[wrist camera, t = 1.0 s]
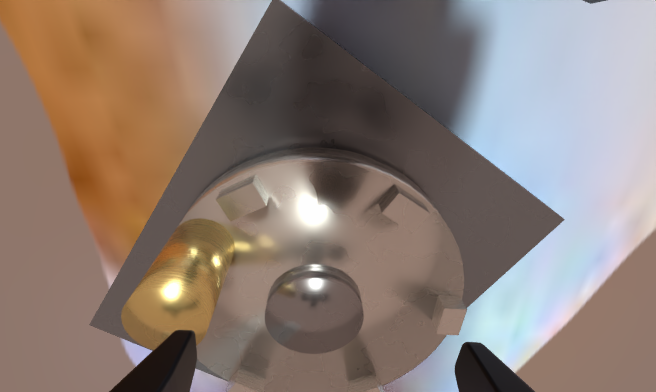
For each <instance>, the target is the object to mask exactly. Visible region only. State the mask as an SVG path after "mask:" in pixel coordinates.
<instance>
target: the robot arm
mask: <svg viewBox="0 0 656 392" xmlns="http://www.w3.org/2000/svg"><path fill="white" fill-rule="evenodd" d="M583 1H585V2H588V3H596V2H601V1H606V0H583ZM196 363H197V347H196V336H195V332H194V331H192V330H176V331H174V332H173V333H172V334H171V335H170V336H168V337H167V338H166V339H165V340H164V341H163V342H162V343H161V344H160V345H159V346H158V347H157V348H156V349H155V350H153V351H152V352H151V353H150V354H149V355H148V356H147V357H146V358H145V359H144V360H143V361H142V362H141V363H140V364H138V365H137V366H136V367H135V368H134V369H133V370H132V371H131V372H130V373H129V374H128V375H127V376H126V377H125V378H123V379H122V380H121V381H120V382H119V383H118V384H117V385H116V386H115V387H114V388H113V389H112V390H111V391H109V392H190V388H191V384H192V380H193V376H194V372H195V367H196ZM455 376H456V380H457V385H458V389H459V392H535V391H534V390H533V389H532V388H531V387H529V386H528V385H527V384H526V383H525V382H524V381H523V380H522V379H521V378H520V377H518V376H517V375H516V374H515V373H514V372H513V371H512V370H511V369H510V368H509V367H507V366H506V365H505V364H504V363H503V362H502V361H501V360H500V359H499V358H498V357H496V356H495V355H494V354H493V353H492V352H491V351H490V350H489V349H488V348H487V347H485V346H484V345H483V344H481V343H477V342H465V343H464V344H463V345H462V347H461V350H460V353H459V355H458V358H457V361H456V364H455Z"/></svg>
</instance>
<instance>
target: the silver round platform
mask: <svg viewBox="0 0 656 392" xmlns="http://www.w3.org/2000/svg"><path fill="white" fill-rule="evenodd" d="M463 288H464V271H463V262H462V258H461V255H460V251H459V247H458V245H457V243H456V241H455V239H454V236H453V234H452V232H451V230H450V229H449V227H448V226H447V224H446V223H445V221H444V220H443V218H442V217H441V215H440V213H439V212H438V210H437V209H436V207H435V206H434V205H433V203H432V202H431V200H430V199H429V197H428V196H427V195H426V194H425V193H424V192H423V191H422V190H421V189H420V188H419V187H418V186H417V185H416V184H415V183H414V182H412V181H411V180H410V179H409V178H407V177H406V176H405V175H404V174H402V173H401V172H399V171H397V170H396V169H394V168H392V167H390V166H389V165H387V164H385V163H383V162H380V161H378V160H376V159H373V158H371V157H368V156H365V155H362V154H358V153H354V152H351V151H346V150H339V149H332V148H310V147H305V148H296V149H287V150H281V151H277V152H273V153H269V154H265V155H262V156H259V157H256V158H254V159H251V160H249V161H246V162H244V163H242V164H240V165H238V166H236V167H235V168H233V169H231V170H229V171H227V172H226V173H225V174H223V175H222V176H221V177H219V178H218V179H217V180H215V181H214V182H213V183H211V184H210V185H209V186H208V187H207V188H206V189H205V190H204V191H203V192H202V193H201V194H200V195H199V196H198V198H197V199H196V200H195V202H194V203H193V205H192V206H191V207H190V209H189V210H188V212H187V213H186V215H185V216H184V218H183V219H182V221H181V222H180V224H179V225H178V226H177V228H176V229H175V231H174V232H173V234H172V235H171V237H170V238H169V240H168V241H167V243H166V244H165V246H164V247H163V249H162V250H161V252H160V253H159V255H158V256H157V258H156V259H155V261H154V262H153V264H152V265H151V267H150V268H149V270H148V271H147V273H146V274H145V276H144V277H143V278H142V280H141V281H140V283H139V284H138V286H137V287H136V289H135V290H134V292H133V293H132V295H131V296H130V298H129V299H128V301H127V302H126V304H125V305H124V307H123V309H122V313H121V319H122V324H123V327H124V329H125V330H126V332H127V333H128V334H129V336H130V337H131V338H132V339H134V340H135V341H136V342H138V343H139V344H141V345H142V346H144V347H147V348H149V349H152V350H155V349H156V348H157V347H158V346H159V345H160V344H161V343H162V342H163V341H164V340H165V339H166V338H167V337H168V336H170V335H171V334H172V333H173V332H174V331H176V330H192V331H194V332H195V336H196V347H197V360H198V361H199V362H201V363H202V364H203V365H205V366H206V367H207V368H209V369H210V370H211V371H213V372H214V373H216V374H218V375H219V376H221V377H223V378H224V379H226V380H228V381H229V382H228V386H227V390H226V392H384V391H383V385H385V384H387V383H389V382H391V381H393V380H395V379H397V378H399V377H401V376H403V375H404V374H406V373H407V372H409V371H411V370H412V369H414V368H415V367H416V366H417V365H419V364H420V363H421V362H423V361H424V360H425V359H426V358H427V357H428V356H429V355H430V354H431V353H432V352H433V351H434V350H435V349H436V348H437V347H438V346H439V344H440V343H441V342H442V341H443V339H444V338H445V337H446V335H459V332H460V329H461V326H462V323H463V320H464V317H465V314H466V311H467V309H466V307H465V305H464V303H463V301H462V296H463Z"/></svg>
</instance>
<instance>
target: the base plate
mask: <svg viewBox="0 0 656 392" xmlns="http://www.w3.org/2000/svg"><path fill="white" fill-rule="evenodd" d="M305 147H310V148H332V149H339V150H346V151H351V152H354V153H358V154H362V155H365V156H368V157H371V158H373V159H376V160H378V161H380V162H383V163H385V164H387V165H389V166H390V167H392V168H394V169H396V170H397V171H399V172H401V173H402V174H404V175H405V176H406V177H407V178H409V179H410V180H411V181H412V182H414V183H415V184H416V185H417V186H418V187H419V188H420V189H421V190H422V191H423V192H424V193H425V194H426V195H427V196H428V197H429V199H430V200H431V202H432V203H433V205H434V206H435V207H436V209H437V210H438V212H439V213H440V215H441V217H442V218H443V220H444V221H445V223H446V224H447V226H448V227H449V229H450V230H451V232H452V234H453V236H454V239H455V241H456V243H457V245H458V247H459V251H460V255H461V258H462V262H463V271H464V288H463V296H462V301H463V303H464V305H465V307H466V308H467V307H468V306H469V305H470V304H472V303H473V302H474V301H475V300H476V299H477V298H478V297H479V296H480V295H481V294H483V293H484V292H485V291H486V290H487V289H488V288H489V287H490V286H491V285H493V284H494V283H495V282H496V281H497V280H498V279H499V278H500V277H501V276H503V275H504V274H505V273H506V272H507V271H508V270H509V269H510V268H511V267H513V266H514V265H515V264H516V263H517V262H518V261H519V260H520V259H521V258H523V257H524V256H525V255H526V254H527V253H528V252H529V251H530V250H531V249H533V248H534V247H535V246H536V245H537V244H538V243H539V242H540V241H541V240H543V239H544V238H545V237H546V236H547V235H548V234H549V233H550V232H551V231H553V230H554V229H555V228H556V227H557V226H558V225H559V224H560V223H561V222H562V221H564V220H565V219H563V218H562V217H561V216H560V215H558V214H557V213H556V212H554V211H553V210H552V209H551V208H549V207H548V206H547V205H546V204H544V203H543V202H542V201H540V200H539V199H538V198H537V197H535V196H534V195H533V194H531V193H530V192H529V191H527V190H526V189H525V188H524V187H522V186H521V185H520V184H518V183H517V182H516V181H514V180H513V179H512V178H511V177H509V176H508V175H507V174H505V173H504V172H503V171H501V170H500V169H499V168H498V167H496V166H495V165H494V164H492V163H491V162H490V161H489V160H487V159H486V158H485V157H483V156H482V155H481V154H479V153H478V152H477V151H476V150H474V149H473V148H472V147H470V146H469V145H468V144H466V143H465V142H464V141H463V140H461V139H460V138H459V137H457V136H456V135H455V134H453V133H452V132H451V131H450V130H448V129H447V128H446V127H444V126H443V125H442V124H440V123H439V122H438V121H437V120H435V119H434V118H433V117H431V116H430V115H429V114H427V113H426V112H425V111H424V110H422V109H421V108H420V107H418V106H417V105H416V104H415V103H413V102H412V101H411V100H409V99H408V98H407V97H405V96H404V95H403V94H402V93H400V92H399V91H398V90H396V89H395V88H394V87H392V86H391V85H390V84H389V83H387V82H386V81H385V80H383V79H382V78H381V77H379V76H378V75H377V74H376V73H374V72H373V71H372V70H370V69H369V68H368V67H366V66H365V65H364V64H363V63H361V62H360V61H359V60H357V59H356V58H355V57H353V56H352V55H351V54H350V53H348V52H347V51H346V50H344V49H343V48H342V47H340V46H339V45H338V44H337V43H335V42H334V41H333V40H331V39H330V38H329V37H328V36H326V35H325V34H324V33H322V32H321V31H320V30H318V29H317V28H316V27H315V26H313V25H312V24H311V23H309V22H308V21H307V20H305V19H304V18H303V17H302V16H300V15H299V14H298V13H296V12H295V11H294V10H292V9H291V8H290V7H289V6H287V5H286V4H285V3H283V2H282V1H281V0H272V2H271V3H270V5H269V7H268V9H267V10H266V12H265V14H264V16H263V18H262V19H261V21H260V23H259V25H258V26H257V28H256V30H255V32H254V33H253V35H252V37H251V39H250V41H249V42H248V44H247V46H246V48H245V49H244V51H243V53H242V55H241V57H240V58H239V60H238V62H237V64H236V65H235V67H234V69H233V71H232V73H231V74H230V76H229V78H228V80H227V81H226V83H225V85H224V87H223V89H222V90H221V92H220V94H219V96H218V97H217V99H216V101H215V103H214V105H213V106H212V108H211V110H210V112H209V113H208V115H207V117H206V119H205V121H204V122H203V124H202V126H201V128H200V129H199V131H198V133H197V135H196V137H195V138H194V140H193V142H192V144H191V145H190V147H189V149H188V151H187V153H186V154H185V156H184V158H183V160H182V161H181V163H180V165H179V167H178V168H177V170H176V172H175V174H174V176H173V177H172V179H171V181H170V183H169V184H168V186H167V188H166V190H165V192H164V193H163V195H162V197H161V199H160V200H159V202H158V204H157V206H156V208H155V209H154V211H153V213H152V215H151V216H150V218H149V220H148V222H147V224H146V225H145V227H144V229H143V231H142V232H141V234H140V236H139V238H138V240H137V241H136V243H135V245H134V247H133V248H132V250H131V252H130V254H129V256H128V257H127V259H126V261H125V263H124V264H123V266H122V268H121V270H120V272H119V273H118V275H117V277H116V279H115V280H114V282H113V284H112V286H111V288H110V289H109V291H108V293H107V295H106V297H105V298H104V300H103V302H102V304H101V305H100V307H99V309H98V311H97V312H96V314H95V316H94V318H93V320H92V321H91V323H90V325H91V326H93V327H96V328H98V329H101V330H103V331H106V332H108V333H110V334H113V335H115V336H118V337H120V338H123V339H125V340H128V341H130V342H132V343H135V344H137V345H140V346H142V345H141V344H139V343H138V342H136V341H135V340H134V339H132V338H131V337H130V336H129V334H128V333H127V332H126V330H125V329H124V327H123V324H122V319H121V313H122V309H123V307H124V305H125V304H126V302H127V301H128V299H129V298H130V296H131V295H132V293H133V292H134V290H135V289H136V287H137V286H138V284H139V283H140V281H141V280H142V278H143V277H144V276H145V274H146V273H147V271H148V270H149V268H150V267H151V265H152V264H153V262H154V261H155V259H156V258H157V256H158V255H159V253H160V252H161V250H162V249H163V247H164V246H165V244H166V243H167V241H168V240H169V238H170V237H171V235H172V234H173V232H174V231H175V229H176V228H177V226H178V225H179V224H180V222H181V221H182V219H183V218H184V216H185V215H186V213H187V212H188V210H189V209H190V207H191V206H192V205H193V203H194V202H195V200H196V199H197V198H198V196H199V195H200V194H201V193H202V192H203V191H204V190H205V189H206V188H207V187H208V186H209V185H210V184H211V183H213V182H214V181H215V180H217V179H218V178H219V177H221V176H222V175H223V174H225V173H226V172H227V171H229V170H231V169H233V168H235V167H236V166H238V165H240V164H242V163H244V162H246V161H249V160H251V159H254V158H256V157H259V156H262V155H265V154H269V153H273V152H277V151H281V150H287V149H296V148H305ZM142 347H144V346H142ZM145 348H147V347H145ZM147 349H149V348H147ZM150 350H152V349H150ZM152 351H153V350H152ZM195 368H196V369H199V370H201V371H204V372H206V373H208V374H211V375H213V376H216V377H218V378H221V379H223V380H226V379H224V378H223V377H221V376H219V375H218V374H216V373H214V372H213V371H211V370H210V369H209V368H207V367H206V366H205V365H203V364H202V363H201V362H199V361H198V360H197V363H196V367H195ZM226 381H228V380H226ZM228 382H229V381H228Z"/></svg>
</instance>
